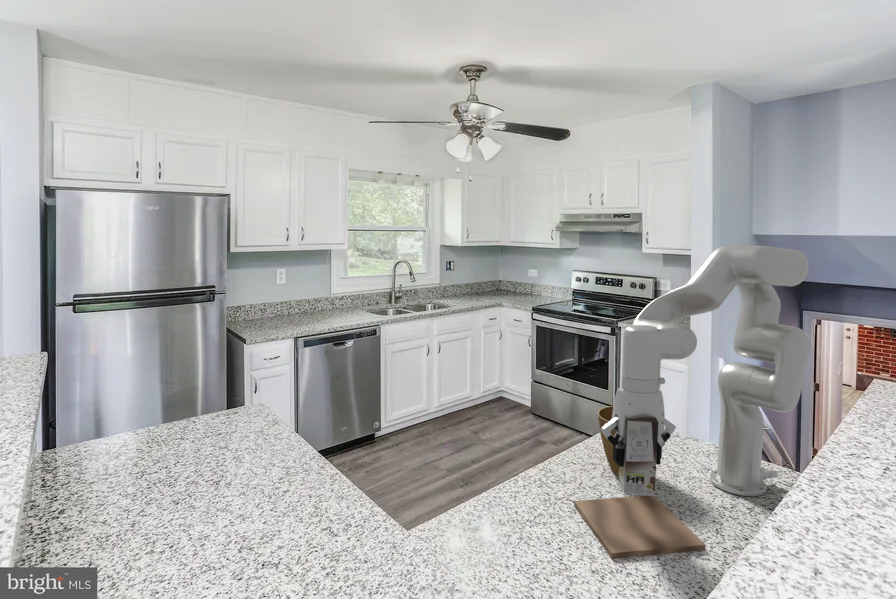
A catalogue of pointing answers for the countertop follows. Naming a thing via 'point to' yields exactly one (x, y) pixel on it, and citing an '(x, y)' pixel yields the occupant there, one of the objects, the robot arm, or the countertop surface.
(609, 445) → the plant pot
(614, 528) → the walnut board
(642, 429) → the coffee box
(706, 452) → the countertop surface
